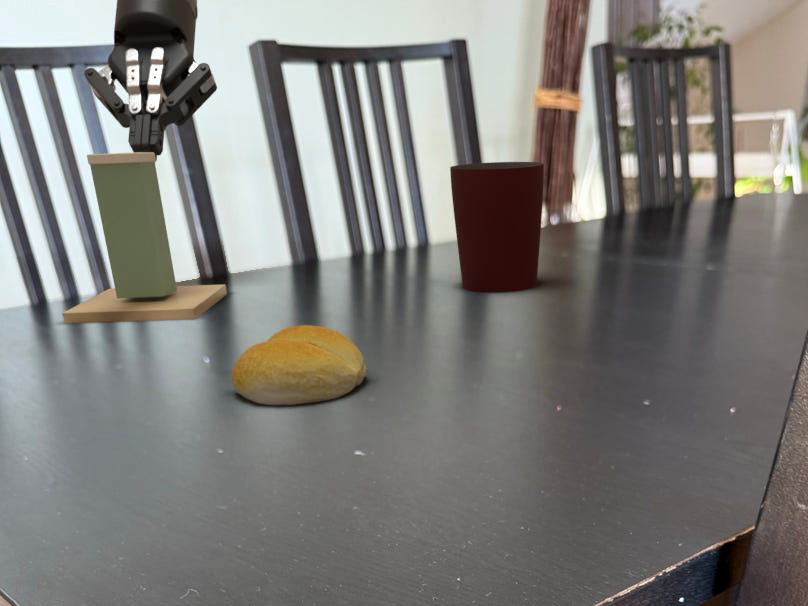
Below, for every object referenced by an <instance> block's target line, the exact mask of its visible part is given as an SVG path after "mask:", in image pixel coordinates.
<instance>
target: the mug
mask: <svg viewBox="0 0 808 606" xmlns="http://www.w3.org/2000/svg"><path fill="white" fill-rule="evenodd" d="M449 168H450V170H449V171H450V186H451V188H450V189H451V197H452V209H453V217H454V226H455V233H456V243H457V249H458V250H457V251H458V259H459V267H460V276H461V282H462V284H461V285H462V288H463V289H464V290H466V291H469V292H476V293H491V294H493V293H496V294H497V293H512V292H521V291H527V290H530V289H533V288H535V287H536V286H537V285H538V284H537V283H538V271H539V260H540V259H539V258H540V245H541V233H542V232H541V231H542V217H543V200H544V182H545V180H544V179H545V178H544V177H545V165H544V162H538V161H537V162H536V161H500V162H499V161H497V162H496V161H495V162H478V163H465V164H457V165H452V166H450V167H449Z"/></svg>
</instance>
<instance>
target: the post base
mask: <svg viewBox="0 0 808 606" xmlns="http://www.w3.org/2000/svg"><path fill="white" fill-rule="evenodd" d="M176 287H177V291H174V292H172V293H170V294H168V295H165V296H163V297H137V298H117V296H116V291H115V287H112V288H107V289H106V290H104V291H102V292H100V293H98V294H96V295H94V296H92V297H90V298H88V299H86V300H85V301H83V302H81V303H79V304H77V305H75V306H73V307H70V309H67V310H66V311H63V312H62V317H63V322H64V324H65V325H66V324H68V325H69V324H98V323H120V322H121V323H122V322H123V323H125V322H127V323H128V322H153V321H180V320H181V321H183V320H184V321H185V320H197V318H199V317H200V316H201V315H202V314H204V313H205V312H207V311H208V310H209V309H211V307H213V306H214V305H215V304H216V303H218V302H219V301H221V300H222V299H223V298H224V297H226V296H227V295H228V292H227V286H226V284H199V285H197V284H195V285H176Z"/></svg>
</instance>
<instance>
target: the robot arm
mask: <svg viewBox="0 0 808 606" xmlns="http://www.w3.org/2000/svg"><path fill="white" fill-rule="evenodd" d="M115 7H116V8H115V17H114V18H115V19H114V28H113V29H114V30H113V42H114V43H113V49H112V50H111V52H110V53H109V54H108V58H107V65H106V66H105V67H103V68H102V69H100V70H99V71H98V70H97V69H95V68H94V67H88V68H86V69H85V70H84V72H83V75H84V77H85V79H86V81H87V83H88V84H89V87H90V89H91V90H92V92H93V94H94V96H95V97H96V99H98V100H99V102H100V103H101V104H102V105H103V106H104V108H105V109H107V111H108V112H109V113H110V114H111V115H112V116H113V118H114V119H115V120H116V121H117V122H118V124H119V125H120V126H121V127H122V128H124V129H128V140H127V141H128V144H129V147H130V149H131V150H132V153H135V152H154V153H155V159H156V162H157V161H158V156H161V155H162V153H163V151H164V140H165V131H166V130H168V126H170V125H173V124H174V126H177V127H181V126H183V125H185V124H186V123H187V122H188V120H190V118H191V117H192V116H193V115H194V114H195V113H196V112H197V111H198V110H199V109H200V108H201V107H202V106H203V105H204V104H205V103H206V101H208V100H209V99H210V98H211V96H212V95H214V94H215V93H216V91H217V90H218V86H217V83H216V80H215V77H214V74H213V72H212V70H211V66H210V65H209V64H208V63H206V62H202V63H197V62H196V60H195V57H194V55H195V54H194V53H195V43H196V29H197V28H196V27H197V19H198V13H199V12H198V10H199V9H198V0H116V6H115ZM116 81H117V82H118V83H119V85H120V86H121V87H122V89H124V91H125V92H126V93H127V94H128V103H125V102H124V101H123V99H122V98H121V97H120V95H119V94H118V93H117V92H116V89H117V87H116V85H115V82H116ZM180 105H181V106H180Z"/></svg>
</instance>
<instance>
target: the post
mask: <svg viewBox="0 0 808 606" xmlns="http://www.w3.org/2000/svg"><path fill="white" fill-rule="evenodd" d="M86 158H87V164H88V165H89V166H90V172H91V176H92V181H93V186H94V191H95V196H96V201H97V206H98V210H99V211H98V212H99V215H100V221H101V226H102V231H103V235H104V236H103V237H104V240H105V246H106V251H107V256H108V260H109V266H110V270H111V275H112V280H113V285H114V288H115V291H116V296H117V298H137V297H163V296H165V295H168V294H170V293H172V292H174V291H177V287H176V286H177V283H176V275H175V271H174V265H173V259H172V254H171V248H170V247H171V246H170V243H169V238H168V231H167V225H166V219H165V211H164V208H163V207H164V206H163V202H162V201H163V200H162V195H161V190H160V189H161V188H160V184H159V178H158V172H157V167H156V162H157V161H156V159H155V153H154V152H135V153H134V152H115V153H113V152H112V153H90V154H89V153H87V154H86Z"/></svg>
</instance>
